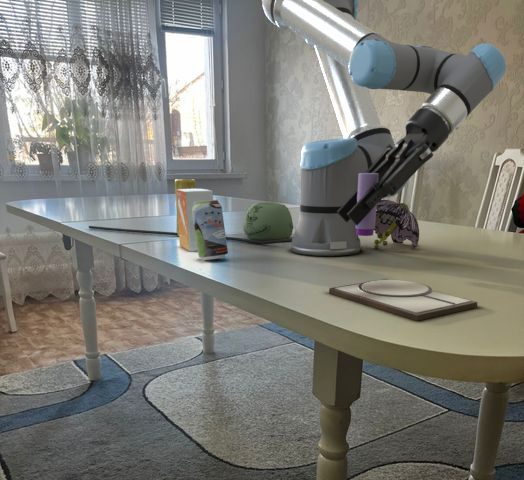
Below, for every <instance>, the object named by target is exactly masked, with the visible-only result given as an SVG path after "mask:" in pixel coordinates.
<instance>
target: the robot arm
mask: <svg viewBox="0 0 524 480" xmlns="http://www.w3.org/2000/svg"><path fill="white" fill-rule="evenodd" d="M261 3H262V4H261V5H262V9H263V12H264V14H265V17H266V18H267V19H268V20H269V21H270V22H271V23H272V24H273V25H274V26H276V27H278V28H279V29H280V30H282V31H284V32H290V33H291V32H294V33H296V34H297V35H298V36H300V37H301V38H303V39H304V40H305V42H306V45H307V47H309V49H311V50H315V52H316V55H317V58H318V61H319V65H320V67H321V71H322V74H323V77H324V80H325V83H326V87H327V90H328V93H329V96H330V99H331V102H332V105H333V106H332V107H333V108H334V113H335V115H336V118H337V122H338V125H339V127H340V131H341V134H342V137H336V138H330V139H329V138H328V139H321V140H315V141H311V142H308V143H306V144H305V145H303V147H302V149H301V156H300V163H299V168H300V195H299V216H298V217H299V218H298V220H297V223H296V227H295V230H294V234H293V236H292V238H287V239H280V240H271V241H261V240H253V239H250V238H242V237H233V236H226V241H233V242H242V243H243V242H244V243H249V244H254V245H255V244H256V245H273V244H283V243H291V244H290V245H291V246H290V247H291V248H290V250H291V251H292V252H293V253H296V254H300V255H304V256H306V255H307V256H316V257H339V256H341V257H342V256H350V255H355V254H359V253H360V252H361V239H360V238H359V235H356V228H355V226H356V225H358V224H359V223H360V222H361V221H362V220H363V219H364V217H365V216H366V215H367V214H368V213H369V212H370V211H371V210H372V209H373V208H374V207H375V205H376V204H377V203H378V202H379V201H380V200H384V199H386V198H392V197H395V196H396V195H398V194H400V192H401V191H402V190H403V189H404V188H405V187H406V185H407V183H408V181H409V180H410V179H411V178H412V176H413V175H415V173H417V172H418V171H419V169H420V168H422V166H423V165H424V164H426V163H427V162H428V161H429V160H430V159H432V158H433V157H434V152H436V151H438V149H439V148H440V147H442V145H443V144H444V143H445V142H446V141H447V140H448V139H449V137H450V135H452V134H453V133H454V132H455V131H457V130H458V129H460V125H461V124H463V122H464V121H465V119H467V118H468V117H469V116H470V114H471V113H472V112H473V111H474V110H475V109H476V108H477V107H478V105H480V103H481V102H483V100H484V99H485V98H486V97H487V96H488V95H489V94H490V93H492V92H493V91H494V89H495V88H496V87H497V85H498V84H499V82H500V81H501V80H502V79H503V77H504V76H505V74H506V72H507V63H506V58H505V56H504V55H503V53H502V52H501V51H500V49H498V48H497V47H496V46H495V45H492V44H491V43H488V42H487V43H486V42H485V43H484V42H483V43H479V44H478V45H476V46H474V47H473V48H472V49H471V50H469V51H468V54H461V53H454V52H450V51H445V50H442V49H437V48H434V47H432V46H426V45H409V44H403V43H396V42H392V41H390V40H389V39H387V38H385V37H384V36H382V35H380V34H379V33H377V32H376V31H374V30H372V29H371V28H369V27H367V26H366V25H364V24H363V23H361V22H360V21H357V20H356V19H357V17H358V11H357V8H358V7H359V0H261ZM371 90H391V91H392V90H393V91H402V92H403V91H405V92H415V93H425V94H428V95H429V97H428V98H427V99H426V100H424V102H423V103H422V104H421V106H420V108H419V109H417V110H416V111H415V112H414V113H413V114H412V116H411V117H409V119H408V120H407V121H406V123H405V127H404V128H405V131H406V132H405V136H404V137H403V138H401V139H399V140H398V141H397V142H394V138H393V136H392V132H391V130H390V128H389V127H387V126H385V125H382V124H381V121H380V119H379V116H378V112H377V108H376V106H375V103H374V100H373V97H372V94H371ZM359 173H378V174H379V177H378V182H375V183H373V186H374V187H375V188H376V190H375V189H374V188H373V187H371V188H370V189H369V190H368V191H367V193H366V194H365V195H364V196H363V197H362V198H361V199H360V200H359V201H358V202H357V192H358V175H359ZM88 229H92V230H93V229H94V230H102V231H112V232H124V233H136V234H137V233H138V234H151V235H162V236H163V235H165V236H176V237H178V236H177V235H178V233H177V232H174V231H173V232H172V231H160V230H145V229H144V230H143V229H133V228H131V229H130V228H118V227H108V226H107V227H106V226H96V225H88Z"/></svg>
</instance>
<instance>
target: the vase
mask: <svg viewBox="0 0 524 480" xmlns="http://www.w3.org/2000/svg"><path fill="white" fill-rule="evenodd" d="M196 187H197V186H196V179H193V178H192V179H191V178H190V179H186V178H184V179H183V178H182V179H175V180H174V192H175V206H176V233H178V235H177V236H176V237H179V221H178V203H177V189H197V188H196Z"/></svg>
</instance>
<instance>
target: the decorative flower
mask: <svg viewBox="0 0 524 480" xmlns="http://www.w3.org/2000/svg"><path fill="white" fill-rule="evenodd" d="M374 233H375V234H376V237H377V239H374V245H373V248H374V249H375V250H378V249H379V248H380V244H382V245H383V246H388V238H389V237H390V238H391V241H392V242H393V244H403V243H404V242H405V241H406V240H408V241H411V245H412V248H413V249H416V248H417V246H418V245H419V241H420V228H419V222H418V220H417V218H416V216H415V215H414V214H413V213H412V212H411V211H410V209H409V205H407V204H406V203H405V202H400V203H397V202H396V201H394V200H390V199H381V200H380V201H379V202H378V203H377V205H376V219H375V229H374Z"/></svg>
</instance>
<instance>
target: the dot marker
mask: <svg viewBox="0 0 524 480" xmlns="http://www.w3.org/2000/svg"><path fill="white" fill-rule="evenodd" d="M378 177H379V174H378V173H359V175H358V192H357V202H358V201H359V200H360V199H361V198H362V197H363V196H364V195H365V194H366V193H367V191H368V190H369V189H370V188H371V187H373V188H374V189H375V190H376V188H375V187H374V186H373V183H375V182H378ZM376 205H377V204H376ZM376 205H375V207H374V208H373V209H372V210H371V211H370V212H369V213H368V214H367V215H366V216H365V217H364V219H363V220H362V221H361V222H360V223H359V224H358V225H356V226H355V228H356V235H358V237H359V236H360V237H372V236H374V233H375V231H374V229H375V219H376V211H377V210H376Z"/></svg>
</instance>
